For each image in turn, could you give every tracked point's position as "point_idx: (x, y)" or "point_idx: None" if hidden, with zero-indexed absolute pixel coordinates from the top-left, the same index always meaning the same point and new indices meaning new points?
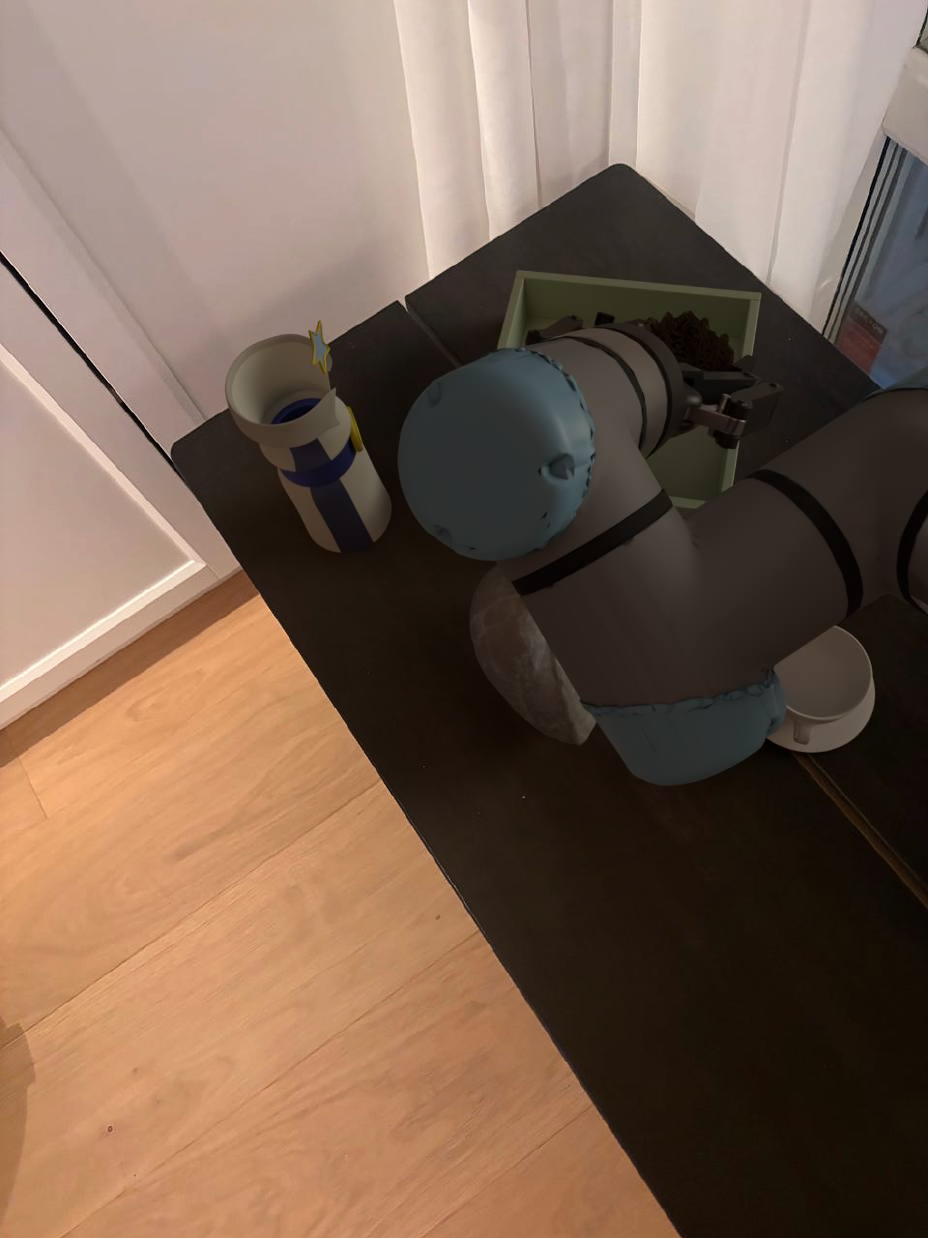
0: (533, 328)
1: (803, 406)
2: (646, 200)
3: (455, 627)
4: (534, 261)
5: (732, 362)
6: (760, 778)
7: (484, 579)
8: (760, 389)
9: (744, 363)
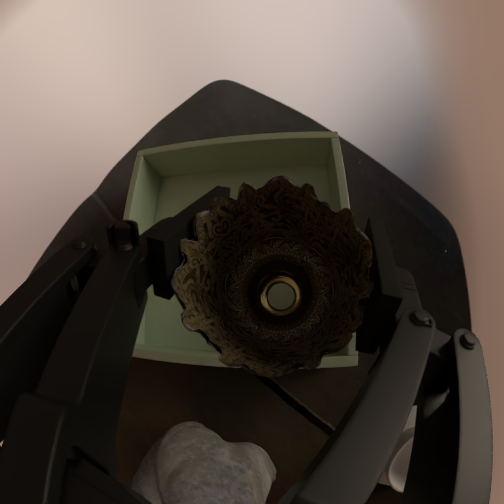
0: (165, 186)
1: (385, 215)
2: (237, 87)
3: (152, 441)
4: (167, 138)
5: (370, 262)
6: (378, 501)
7: None
8: (474, 417)
9: (388, 260)
